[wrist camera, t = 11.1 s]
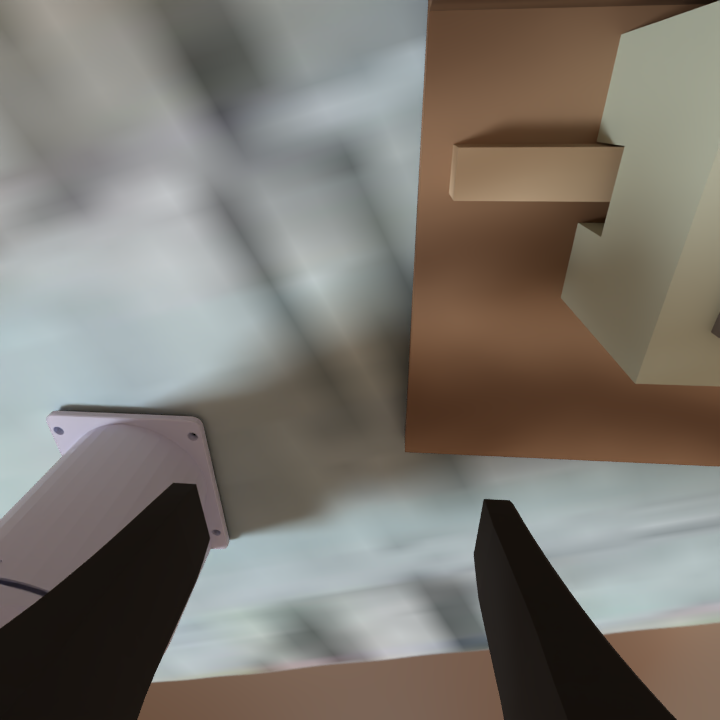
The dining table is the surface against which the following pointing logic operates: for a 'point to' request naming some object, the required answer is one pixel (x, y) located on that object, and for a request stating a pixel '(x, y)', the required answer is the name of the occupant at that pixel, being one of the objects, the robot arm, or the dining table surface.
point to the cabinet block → (658, 208)
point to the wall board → (527, 243)
